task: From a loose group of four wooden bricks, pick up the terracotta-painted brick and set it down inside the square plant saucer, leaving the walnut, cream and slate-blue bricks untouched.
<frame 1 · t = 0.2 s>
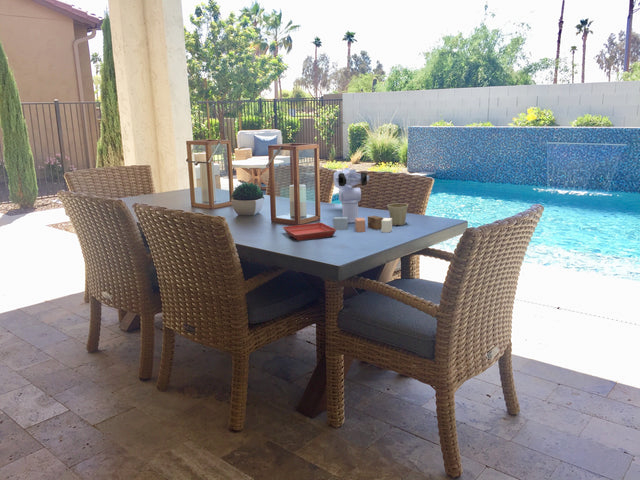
hand: (354, 180, 221), 21 cm above the table, tool horizontal, fingers open, 7 cm apart
cream brick: (386, 230, 223), on the table
plant saucer: (309, 236, 221), on the table
slate-blue brick: (340, 229, 230), on the table
walnut brick: (375, 228, 229), on the table
flower pot: (397, 224, 235), on the table
terracotta brick: (360, 230, 226), on the table
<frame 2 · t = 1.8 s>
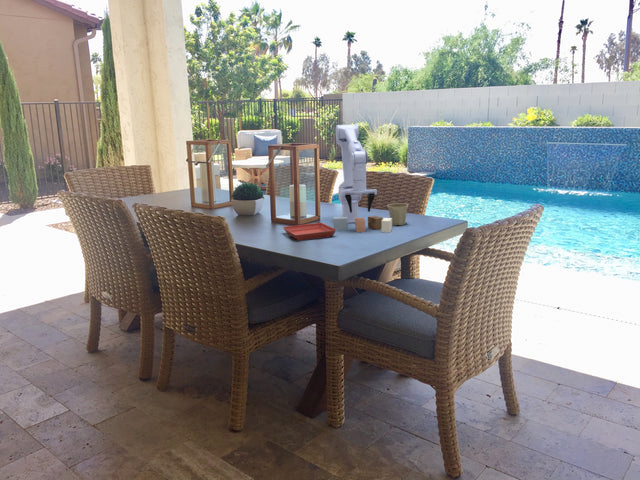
hand: (359, 211, 224), 8 cm above the table, tool pointing down, fingers open, 7 cm apart
nothing on the table moved.
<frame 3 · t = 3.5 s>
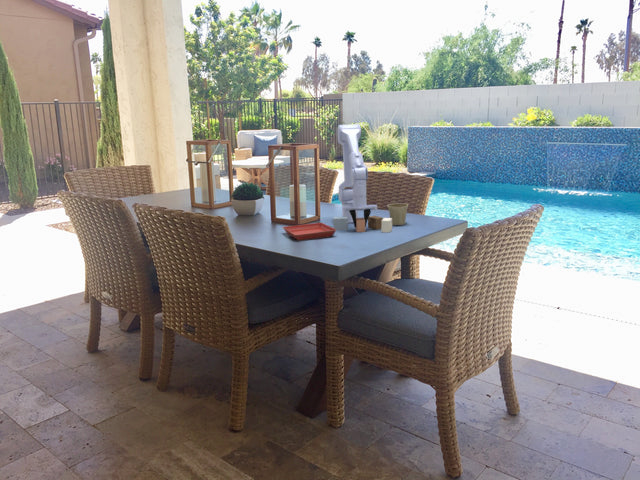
hand: (360, 227, 225), 1 cm above the table, tool pointing down, fingers closed on terracotta brick, 3 cm apart
terracotta brick: (360, 230, 226), on the table, touching gripper
everything else where it was.
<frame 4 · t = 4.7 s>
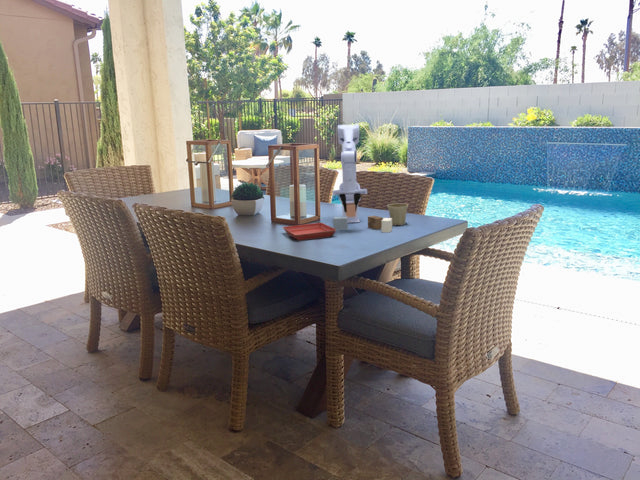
hand: (350, 211, 223), 8 cm above the table, tool pointing down, fingers closed on terracotta brick, 3 cm apart
terracotta brick: (350, 215, 223), point 7 cm above the table, touching gripper
everything else where it was.
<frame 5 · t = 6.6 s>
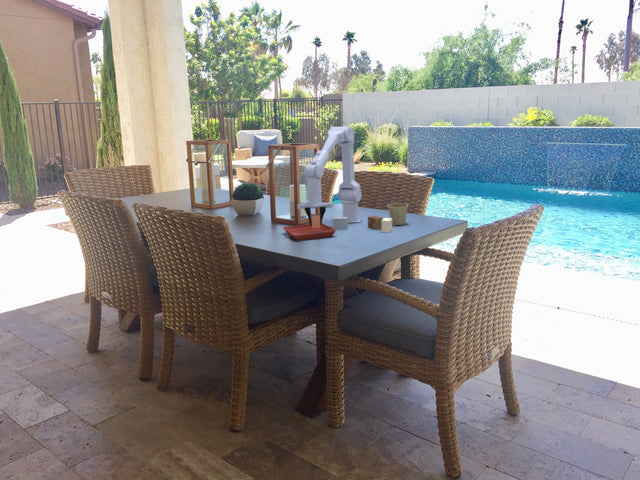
hand: (315, 225, 223), 3 cm above the table, tool pointing down, fingers closed on terracotta brick, 3 cm apart
plant saucer: (309, 236, 221), on the table, touching terracotta brick
terracotta brick: (315, 226, 222), point 3 cm above the table, touching gripper, plant saucer
everything else where it was.
when the fingers open (3 cm above the table, at t = 7.1 s): terracotta brick stays where it is, resting on plant saucer.
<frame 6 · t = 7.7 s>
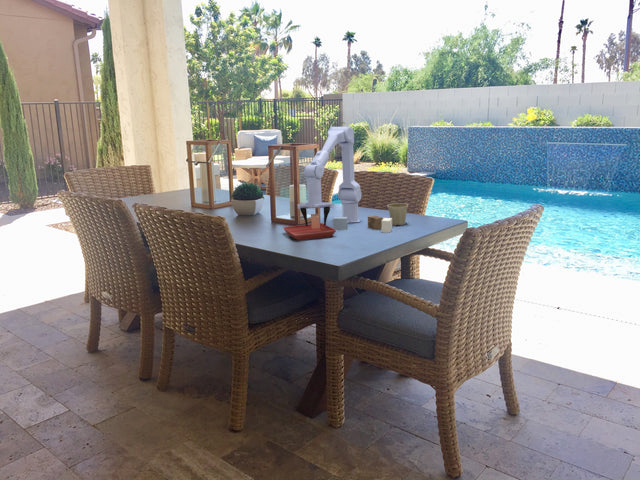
hand: (315, 225, 223), 3 cm above the table, tool pointing down, fingers open, 7 cm apart
terracotta brick: (315, 227, 222), point 3 cm above the table, touching plant saucer
everything else where it was.
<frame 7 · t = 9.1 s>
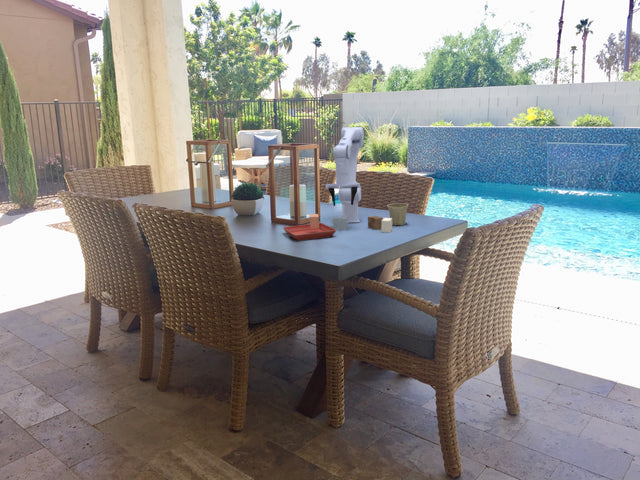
hand: (343, 205, 228), 10 cm above the table, tool pointing down, fingers open, 7 cm apart
plant saucer: (309, 236, 221), on the table
terracotta brick: (314, 227, 222), point 3 cm above the table
everything else where it was.
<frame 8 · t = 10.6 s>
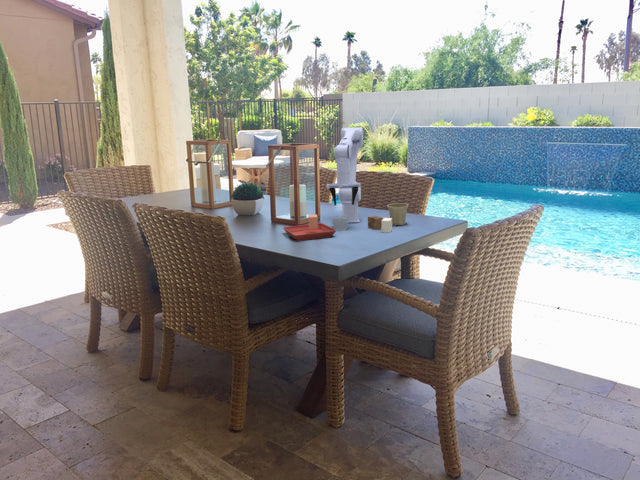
hand: (344, 204, 228), 10 cm above the table, tool pointing down, fingers open, 7 cm apart
plant saucer: (309, 236, 221), on the table, touching terracotta brick
terracotta brick: (313, 227, 221), point 3 cm above the table, touching plant saucer
everything else where it was.
at the end: terracotta brick inside the target area in the plant saucer (2.6 cm from its centre), point 3.5 cm above the plant saucer's base; terracotta brick tilted 0°; slate-blue brick moved 0.1 cm from its start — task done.
